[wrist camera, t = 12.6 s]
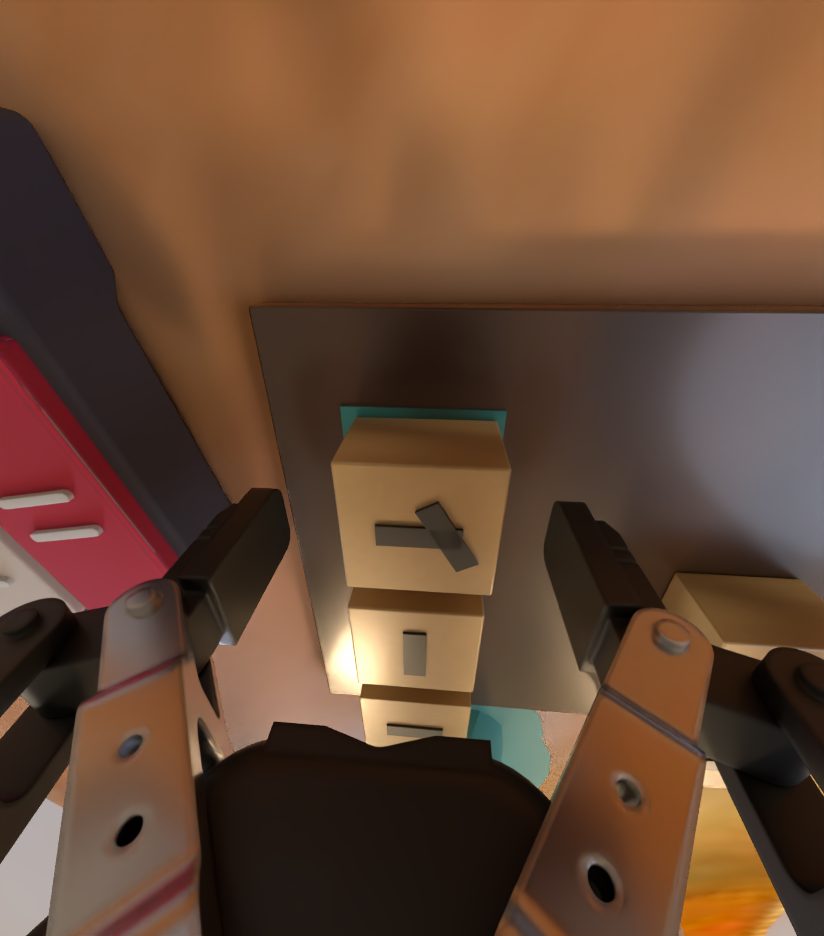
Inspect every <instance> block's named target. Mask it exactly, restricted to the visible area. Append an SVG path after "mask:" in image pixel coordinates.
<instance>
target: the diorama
mask: <svg viewBox="0 0 824 936" xmlns="http://www.w3.org/2000/svg"><path fill="white" fill-rule="evenodd" d="M542 736H543V729H542V724H541V719H540V715H539V714H538V713H537V712H535V711H534V710H528V709H516V708H504V707H492V706H480V705H471V711H470V718H469V725H468V731H467V738H470V739H482V740H491V750H492V759H495V760H497V761H500V762H502V763H504V764H506V765H507V766H509V767H511V768H513V769H514V770H516V771H517V772H519V773H520V774H521V775H523V776H524V777H526V778H527V779H528V780H529V781H531V782H532V783H533V784H534V785H535V786H536V787H537V788H539V787H540V785H541V784H542V783H543V781H544V780H545V779H546V777H547V776H548V775H549V768H550V758H551V756H550V754H549V752H548V750H547V748H546V746H545V744H544V742H543V740H542Z"/></svg>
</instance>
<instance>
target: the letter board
mask: <svg viewBox="0 0 824 936" xmlns="http://www.w3.org/2000/svg"><path fill="white" fill-rule="evenodd" d="M249 312H250V317H251V321H252V326H253V331H254V336H255V340H256V345H257V350H258V355H259V359H260V364H261V369H262V373H263V378H264V383H265V388H266V392H267V397H268V402H269V406H270V411H271V416H272V421H273V425H274V430H275V435H276V440H277V444H278V449H279V454H280V458H281V463H282V468H283V473H284V477H285V482H286V487H287V492H288V496H289V501H290V506H291V510H292V515H293V520H294V525H295V529H296V534H297V539H298V543H299V548H300V553H301V558H302V562H303V567H304V572H305V577H306V581H307V586H308V591H309V595H310V600H311V605H312V610H313V614H314V619H315V624H316V628H317V633H318V638H319V643H320V647H321V652H322V657H323V662H324V666H325V671H326V676H327V680H328V685H329V690H330V693H337V694H349V695H360V703H361V710H362V718H363V725H364V732H365V739H366V743H367V744H369V745H372V746H375V747H385V746H389V745H394V744H398V743H403V742H408V741H412V740H417V739H422V738H426V737H431V736H447V737H459V738H467V731H468V725H469V718H470V711H471V705H480V706H492V707H504V708H516V709H528V710H540V711H552V712H564V713H576V714H588V713H589V711H590V709H591V707H592V704H593V702H594V700H595V698H596V695H597V693H598V691H599V689H600V686H601V684H600V681H599V678H598V675H597V673H588V672H580V671H579V668H578V665H577V662H576V659H575V656H574V653H573V650H572V646H571V643H570V640H569V637H568V634H567V631H566V628H565V625H564V621H563V618H562V615H561V612H560V609H559V606H558V603H557V600H556V597H555V593H554V590H553V587H552V584H551V581H550V578H549V575H548V572H547V569H546V565H545V561H544V552H543V550H544V541H545V536H546V532H547V528H548V524H549V519H550V515H551V511H552V507H553V504H554V502H555V501H571V502H584V503H585V504H586V505H587V507H588V508H589V510H590V512H591V514H592V515H593V517H594V519H595V520H598V521H605V522H606V523H607V524H609V525H610V526H611V527H612V528H613V529H615V530H616V531H617V532H618V533H619V534H620V535H621V537H622V538H623V540H624V542H625V543H626V545H627V546H628V550H629V551H631V553H632V554H633V556H634V558H635V559H636V563H638V564H639V566H640V567H641V569H642V570H643V572H644V574H645V575H646V577H647V579H648V580H649V582H650V583H651V585H652V587H653V588H654V590H655V591H656V593H657V595H658V596H659V598H660V599H661V601H662V603H663V604H664V606H665V608H666V609H667V610H668V611H671V612H673V613H675V614H678V615H680V616H681V617H683V618H685V619H687V620H688V621H690V622H691V623H692V624H694V625H695V626H696V627H697V628H698V629H699V630H700V631H701V632H702V633H703V634H704V635H705V636H706V637H707V639H708V641H709V642H710V644H712V645H715V646H717V647H720V648H723V649H727V650H730V651H733V652H736V653H739V654H743V655H746V656H749V657H752V658H755V659H758V660H762V659H763V658H764V657H765V656H766V654H767V653H768V652H769V651H770V650H771V649H774V648H778V647H789V648H795V649H799V650H802V651H805V652H808V653H810V654H813V655H815V656H817V657H819V658H822V659H823V660H824V306H732V305H586V304H439V303H293V302H263V303H259V304H256V305H252V306H250V307H249ZM356 417H374V418H408V419H442V420H477V421H496V422H497V423H498V426H499V430H500V433H501V437H502V440H503V443H504V447H505V450H506V453H507V457H508V460H509V463H510V467H511V470H512V471H511V477H510V484H509V490H508V496H507V503H506V509H505V515H504V522H503V528H502V534H501V541H500V547H499V554H498V560H497V566H496V573H495V579H494V585H493V592H492V594H491V595H475V594H459V593H443V592H427V591H411V590H395V589H379V588H363V587H349V586H347V583H346V575H345V568H344V560H343V553H342V545H341V538H340V530H339V523H338V515H337V508H336V500H335V493H334V485H333V478H332V470H331V461H332V459H333V457H334V456H335V454H336V452H337V450H338V448H339V447H340V445H341V443H342V441H343V439H344V437H345V436H346V434H347V432H348V430H349V428H350V426H351V425H352V423H353V421H354V419H355V418H356ZM703 787H713V788H723V789H727V788H726V785H725V783H724V781H723V779H722V777H721V775H720V773H719V771H718V769H717V767H716V765H715V762H714V760H713V759H710V758H708V757H706V770H705V777H704V783H703Z"/></svg>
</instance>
